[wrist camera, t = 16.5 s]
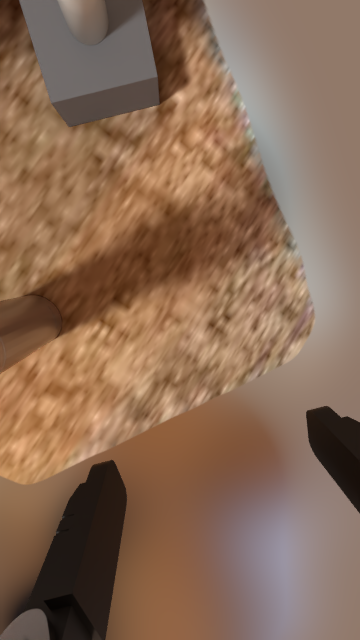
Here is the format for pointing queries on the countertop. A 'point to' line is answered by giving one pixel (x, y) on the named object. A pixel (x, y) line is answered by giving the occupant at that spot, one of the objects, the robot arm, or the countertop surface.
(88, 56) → the plinth
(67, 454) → the countertop surface
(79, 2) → the beige piece
